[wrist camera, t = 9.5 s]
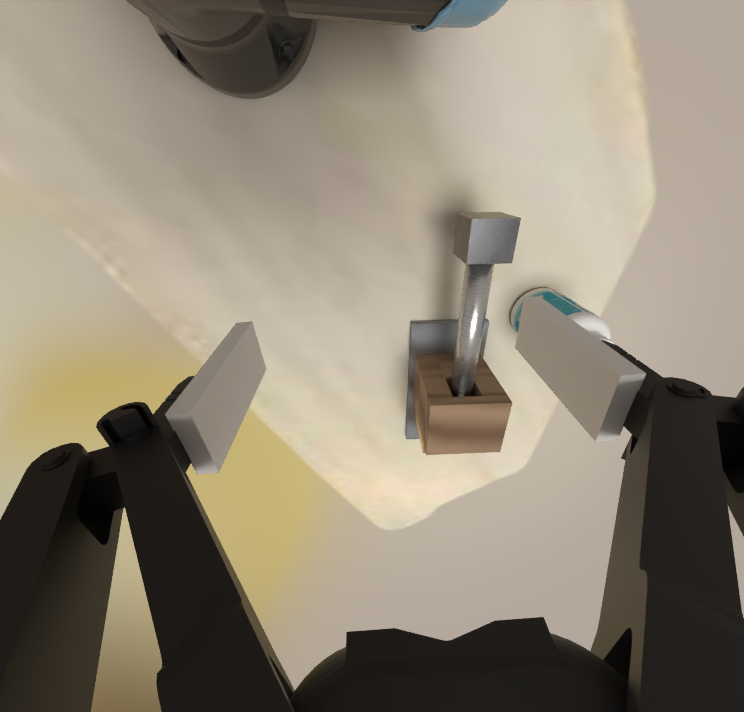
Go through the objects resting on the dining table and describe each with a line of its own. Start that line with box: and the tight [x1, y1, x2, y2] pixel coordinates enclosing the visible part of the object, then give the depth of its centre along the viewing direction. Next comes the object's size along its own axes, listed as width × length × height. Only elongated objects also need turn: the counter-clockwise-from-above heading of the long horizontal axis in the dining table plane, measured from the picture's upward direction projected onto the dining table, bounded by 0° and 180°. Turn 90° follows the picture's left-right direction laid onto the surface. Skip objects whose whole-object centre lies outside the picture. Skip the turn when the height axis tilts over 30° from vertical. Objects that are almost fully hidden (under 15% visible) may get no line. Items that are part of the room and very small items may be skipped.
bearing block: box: [406, 319, 512, 455], centre depth 46 cm, size 22×11×13 cm, turn 1°
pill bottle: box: [511, 288, 614, 344], centre depth 40 cm, size 8×7×14 cm
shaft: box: [450, 212, 521, 397], centre depth 37 cm, size 23×4×5 cm, turn 1°
